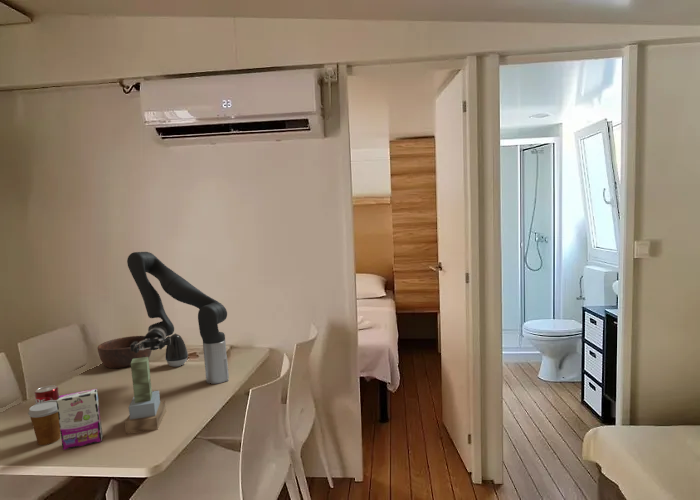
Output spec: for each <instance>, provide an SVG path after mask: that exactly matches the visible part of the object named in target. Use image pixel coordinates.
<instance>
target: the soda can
mask: <svg viewBox="0 0 700 500" xmlns="http://www.w3.org/2000/svg"><path fill="white" fill-rule="evenodd" d="M59 396H60V392H59V387H58V386H57V385H54V384H53V385H51V384H50V385H45V386H42V387H40V388H37V389H36V390H35V391H34V400H35V404H38V403H41V402H45V401H50V400H57V399H58V397H59Z"/></svg>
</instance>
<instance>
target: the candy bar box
mask: <svg viewBox="0 0 700 500" xmlns="http://www.w3.org/2000/svg"><path fill="white" fill-rule="evenodd" d="M57 409H58V417H59V425H60V439H61V449H62V450H63V451H67V450H71V449H74V448H79V447H84V446H89V445H93V444H96V443H101V442H102V440H103V436H104V435H103V428H102V418H101V410H100V403H99V396H98V388H93V389H88V390H87V389H86V390H83V391H77V392H72V393H68V394H67V393H66V394H63V395H62V394H61V395H59V397H58V399H57Z"/></svg>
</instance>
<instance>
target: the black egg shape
mask: <svg viewBox="0 0 700 500" xmlns="http://www.w3.org/2000/svg"><path fill="white" fill-rule="evenodd" d="M169 337H170V338H171V345H170V346H167V345H166V346H165V357H164V358H165V361H166V363H167V364H168V366H170V367H172V368H177V367H181V365H182V366H184V365H185V364H184V363H185V362H186V363H187V361H188V357H189V353H188V349H187V346H186V343H185V341H184V339H183V337H182V336H181V335H179V334H177V333H174V334H172V335H169Z"/></svg>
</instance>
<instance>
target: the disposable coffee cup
mask: <svg viewBox="0 0 700 500" xmlns="http://www.w3.org/2000/svg"><path fill="white" fill-rule="evenodd" d="M27 415H28V416H29V418H30V421H31V424H32V427H33V431H34V435H35V439H36V443H37V444H38V445H39V446H46V445H51V444H54V443H56V442H58V441H59V440H60V439H61V432H60V425H59V417H58V409H57V400H50V401H45V402H41V403H38V404H36V403H35V404H34V405H32V406H30V407H29V408H28V412H27Z"/></svg>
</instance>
